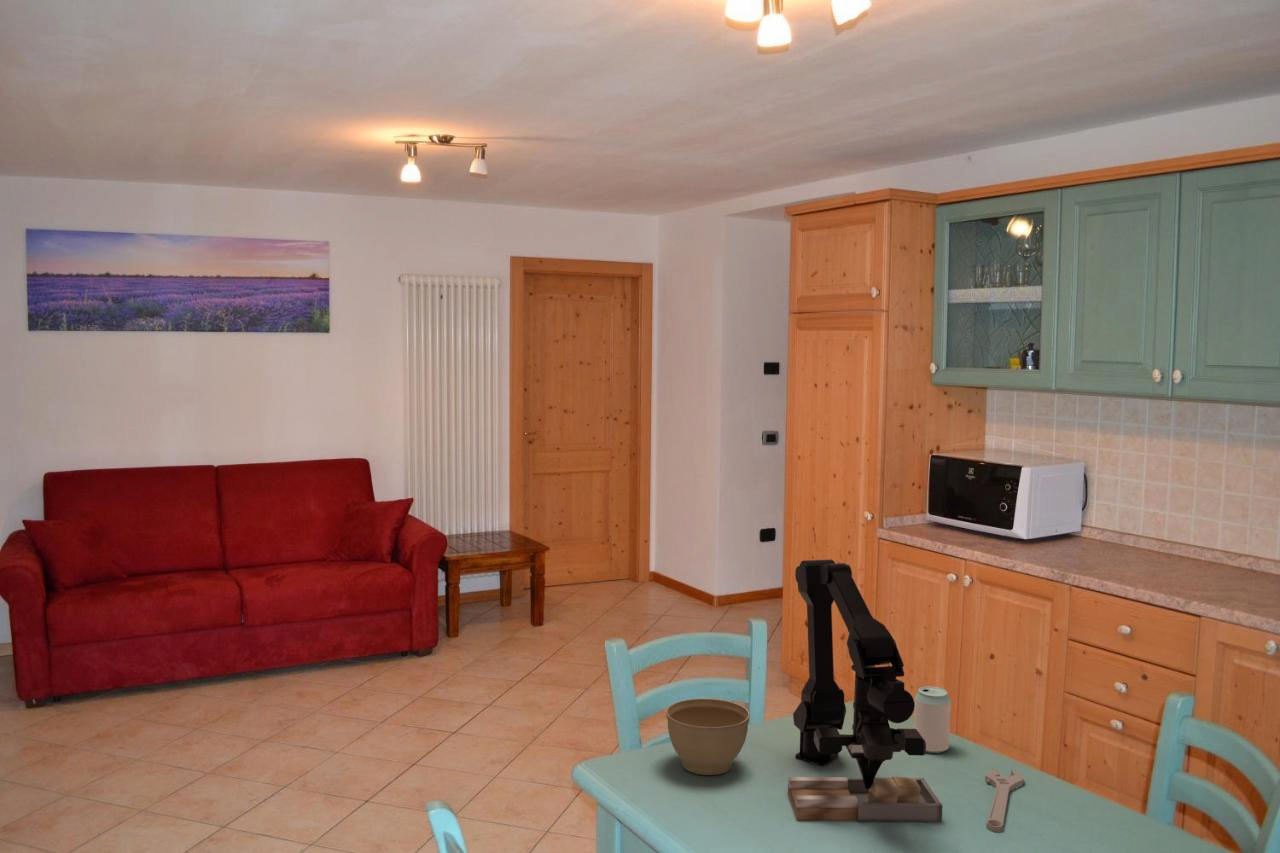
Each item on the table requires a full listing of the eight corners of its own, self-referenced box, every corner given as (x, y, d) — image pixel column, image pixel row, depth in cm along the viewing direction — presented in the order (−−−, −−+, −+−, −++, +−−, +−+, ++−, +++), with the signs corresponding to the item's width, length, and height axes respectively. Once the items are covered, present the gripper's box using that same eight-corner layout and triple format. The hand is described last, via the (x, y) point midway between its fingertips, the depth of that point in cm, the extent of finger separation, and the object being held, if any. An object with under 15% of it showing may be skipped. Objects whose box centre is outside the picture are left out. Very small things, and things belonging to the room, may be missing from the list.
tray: (858, 821, 172) (858, 805, 171) (844, 793, 183) (844, 777, 182) (941, 822, 172) (942, 805, 172) (922, 793, 183) (923, 778, 183)
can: (914, 753, 201) (917, 695, 200) (911, 739, 208) (913, 683, 207) (951, 756, 200) (953, 697, 199) (946, 742, 207) (948, 686, 206)
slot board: (797, 820, 172) (797, 800, 172) (787, 794, 182) (788, 775, 182) (857, 820, 172) (858, 800, 172) (844, 794, 182) (845, 776, 182)
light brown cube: (895, 807, 175) (898, 785, 175) (889, 797, 179) (892, 775, 179) (917, 810, 175) (920, 788, 175) (911, 799, 179) (914, 778, 179)
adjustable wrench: (1002, 837, 168) (1002, 827, 168) (963, 827, 171) (963, 817, 171) (1025, 781, 190) (1025, 772, 190) (990, 773, 193) (990, 764, 193)
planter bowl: (765, 766, 194) (766, 711, 193) (712, 792, 183) (714, 734, 182) (701, 743, 205) (702, 691, 204) (648, 766, 193) (649, 711, 193)
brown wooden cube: (873, 808, 175) (876, 786, 174) (867, 798, 179) (870, 776, 178) (895, 810, 175) (898, 789, 175) (889, 800, 179) (892, 779, 179)
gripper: (826, 718, 168) (823, 808, 169) (937, 720, 168) (933, 809, 169) (814, 695, 179) (811, 779, 180) (918, 697, 179) (914, 781, 180)
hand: (867, 787), depth 177 cm, fingers closed
